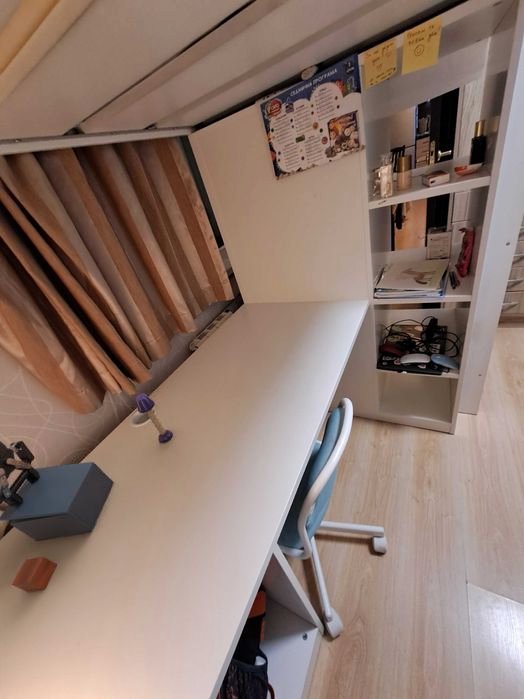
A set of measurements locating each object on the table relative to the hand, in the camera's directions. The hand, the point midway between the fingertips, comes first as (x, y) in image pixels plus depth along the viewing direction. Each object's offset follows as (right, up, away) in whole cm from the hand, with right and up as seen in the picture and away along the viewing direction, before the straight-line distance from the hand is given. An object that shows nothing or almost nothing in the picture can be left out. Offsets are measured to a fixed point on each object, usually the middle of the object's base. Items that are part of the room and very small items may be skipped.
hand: (27, 490), depth 69 cm
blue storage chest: (+8, -8, +5) cm, 13 cm away
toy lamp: (+28, +7, +18) cm, 34 cm away
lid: (+5, 0, 0) cm, 5 cm away
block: (+9, -16, -7) cm, 19 cm away
